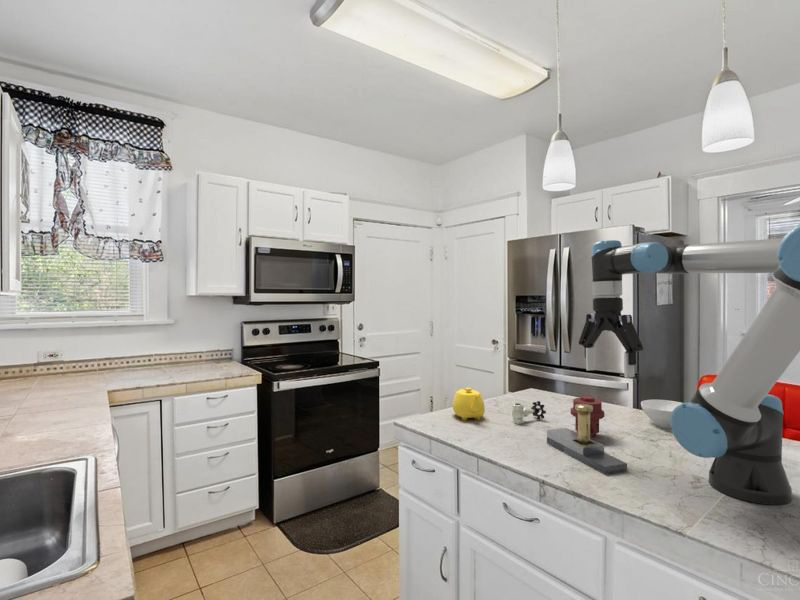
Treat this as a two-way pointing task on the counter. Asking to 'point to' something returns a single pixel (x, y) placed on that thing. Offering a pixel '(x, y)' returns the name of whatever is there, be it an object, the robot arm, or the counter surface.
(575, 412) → the mechanical component
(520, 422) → the valve
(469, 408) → the teapot
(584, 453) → the plate with square socket
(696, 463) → the counter surface
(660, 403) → the bowl
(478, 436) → the counter surface
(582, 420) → the brass knob
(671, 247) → the robot arm
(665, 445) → the counter surface
